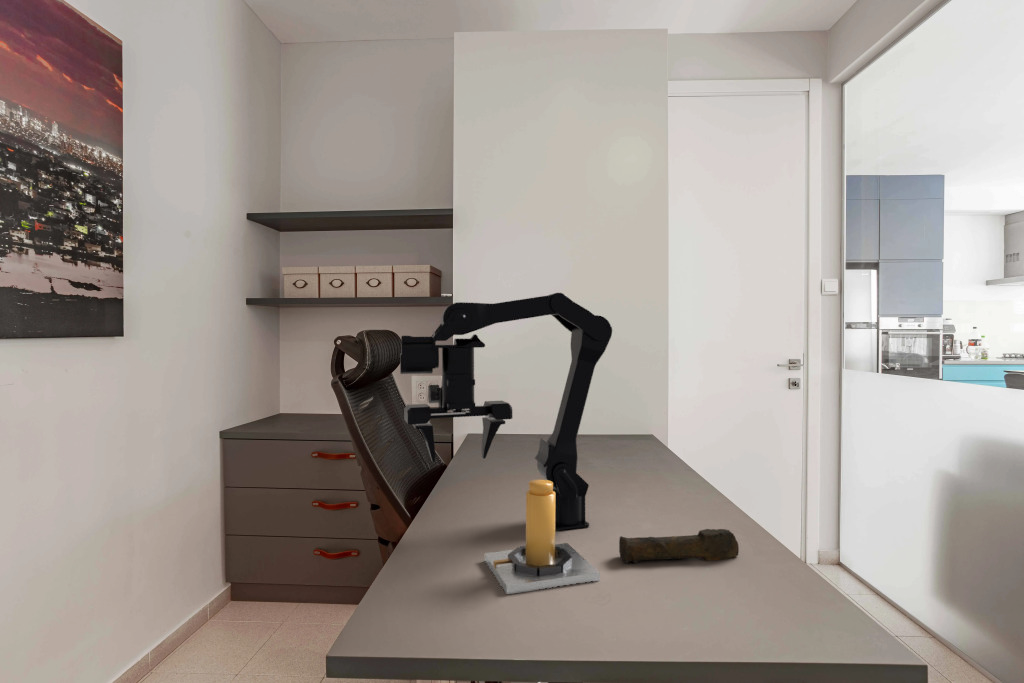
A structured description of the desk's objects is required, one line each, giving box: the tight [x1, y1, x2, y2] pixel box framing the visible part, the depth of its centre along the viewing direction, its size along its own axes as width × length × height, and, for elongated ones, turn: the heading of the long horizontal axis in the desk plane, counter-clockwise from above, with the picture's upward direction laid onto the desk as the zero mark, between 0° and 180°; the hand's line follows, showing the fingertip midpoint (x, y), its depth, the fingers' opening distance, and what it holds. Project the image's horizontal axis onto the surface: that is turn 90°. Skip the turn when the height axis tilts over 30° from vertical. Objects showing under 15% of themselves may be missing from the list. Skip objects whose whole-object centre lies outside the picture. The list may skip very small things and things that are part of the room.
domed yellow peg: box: [525, 479, 556, 566], centre depth 85 cm, size 4×4×12 cm
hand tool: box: [618, 528, 740, 564], centre depth 89 cm, size 19×4×5 cm, turn 92°
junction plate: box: [484, 542, 601, 595], centre depth 85 cm, size 14×12×2 cm
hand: (458, 460), depth 102 cm, fingers open, 9 cm apart
